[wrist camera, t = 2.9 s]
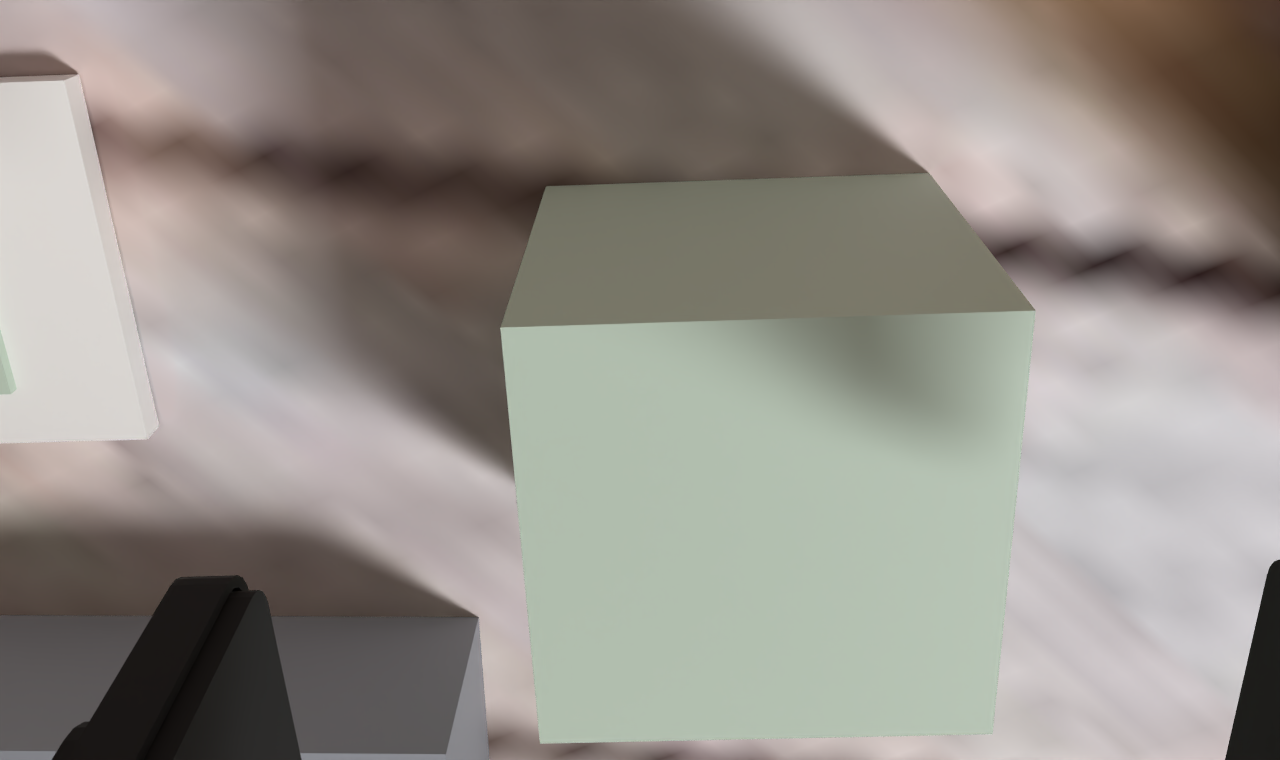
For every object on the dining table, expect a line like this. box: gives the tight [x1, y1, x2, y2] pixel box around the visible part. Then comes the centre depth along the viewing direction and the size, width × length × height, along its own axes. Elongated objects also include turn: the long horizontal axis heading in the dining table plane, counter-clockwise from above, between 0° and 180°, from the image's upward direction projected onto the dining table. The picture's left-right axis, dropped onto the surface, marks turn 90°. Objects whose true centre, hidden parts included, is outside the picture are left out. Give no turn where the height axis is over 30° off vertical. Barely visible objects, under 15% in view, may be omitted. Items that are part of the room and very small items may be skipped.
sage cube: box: [500, 173, 1035, 743], centre depth 18 cm, size 6×6×6 cm
